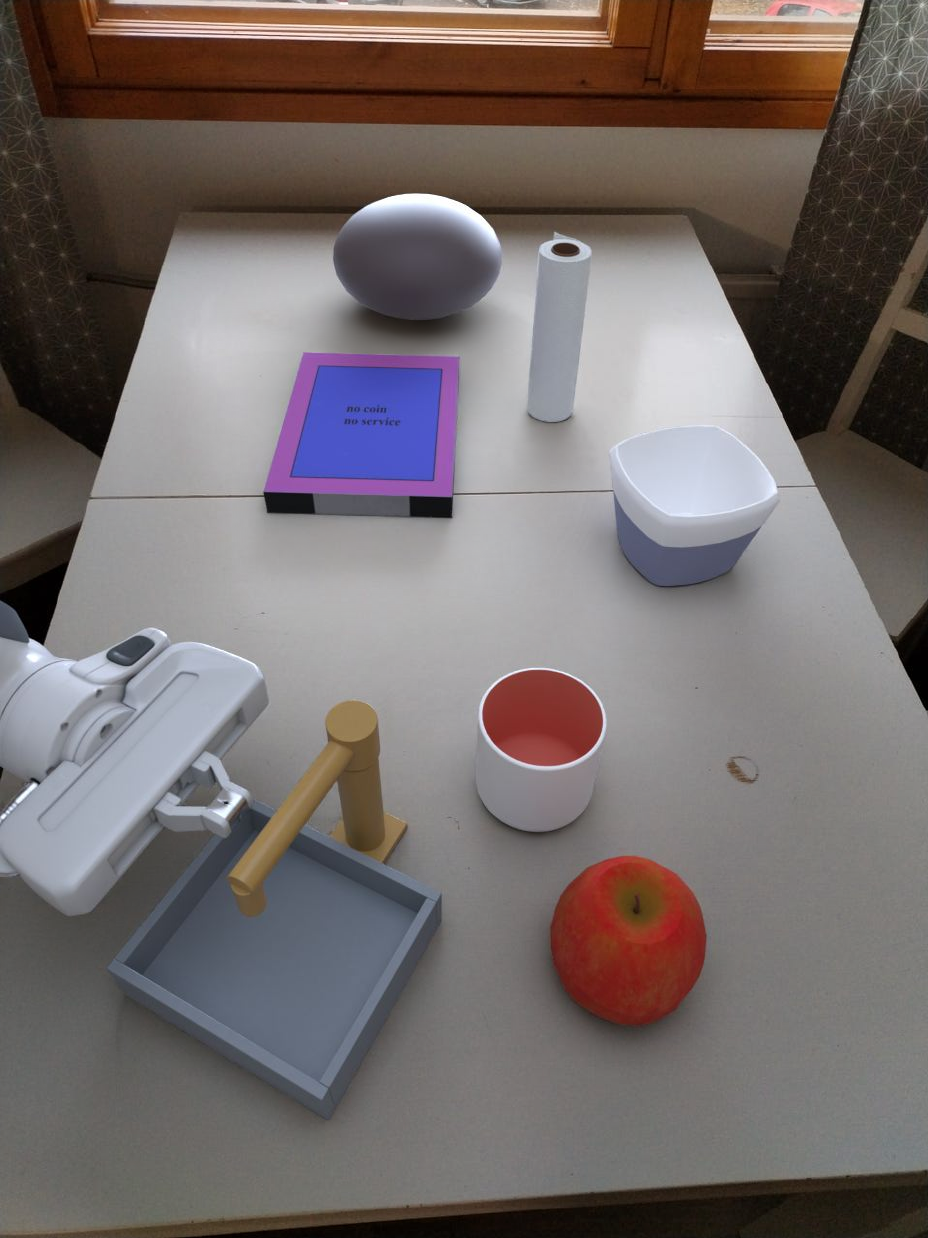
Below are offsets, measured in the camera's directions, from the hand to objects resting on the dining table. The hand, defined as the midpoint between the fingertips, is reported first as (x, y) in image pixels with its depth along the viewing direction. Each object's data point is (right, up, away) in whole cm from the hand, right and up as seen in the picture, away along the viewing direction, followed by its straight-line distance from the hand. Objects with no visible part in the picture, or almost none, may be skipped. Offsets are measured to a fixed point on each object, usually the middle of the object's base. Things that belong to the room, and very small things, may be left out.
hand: (239, 816), depth 58 cm
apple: (+26, -13, +8) cm, 30 cm away
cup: (+21, -2, +19) cm, 28 cm away
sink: (+2, -12, +8) cm, 15 cm away
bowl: (+38, +20, +40) cm, 58 cm away
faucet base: (+7, -5, +15) cm, 17 cm away
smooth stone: (+8, +61, +77) cm, 99 cm away
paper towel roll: (+26, +40, +59) cm, 76 cm away
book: (+3, +35, +53) cm, 64 cm away
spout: (+4, -1, +3) cm, 5 cm away
